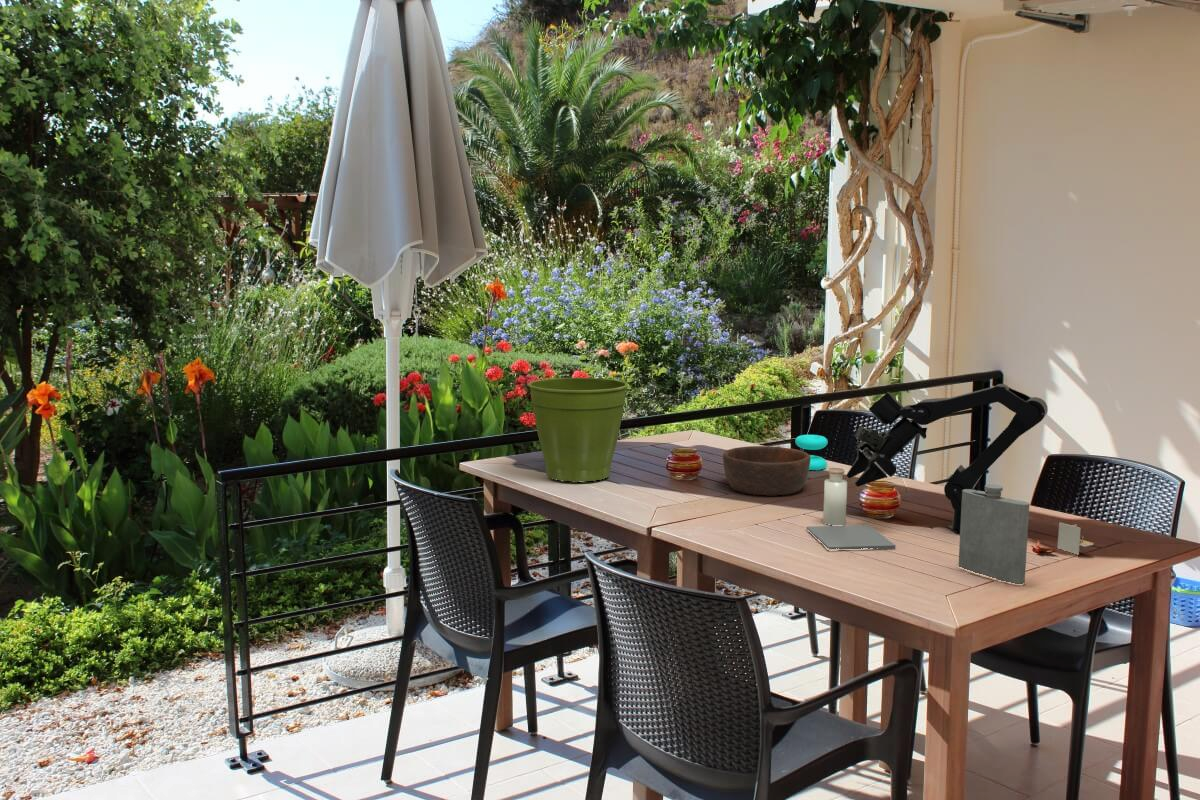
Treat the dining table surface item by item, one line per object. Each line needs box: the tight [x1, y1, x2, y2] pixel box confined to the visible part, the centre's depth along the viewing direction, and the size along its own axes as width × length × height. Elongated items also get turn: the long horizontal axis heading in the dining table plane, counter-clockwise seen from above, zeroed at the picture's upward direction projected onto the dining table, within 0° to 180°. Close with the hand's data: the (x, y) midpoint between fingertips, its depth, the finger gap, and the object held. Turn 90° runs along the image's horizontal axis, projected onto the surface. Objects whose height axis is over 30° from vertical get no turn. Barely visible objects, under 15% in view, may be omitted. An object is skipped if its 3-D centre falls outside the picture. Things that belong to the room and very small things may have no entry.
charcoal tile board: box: [806, 524, 897, 550], centre depth 260 cm, size 18×16×1 cm
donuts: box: [794, 434, 829, 471], centre depth 340 cm, size 10×10×10 cm
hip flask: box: [958, 484, 1030, 584], centre depth 231 cm, size 16×4×20 cm, turn 34°
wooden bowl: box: [722, 445, 811, 497], centre depth 312 cm, size 25×25×10 cm
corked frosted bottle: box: [822, 467, 848, 526], centre depth 274 cm, size 6×6×14 cm
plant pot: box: [528, 377, 629, 483], centre depth 325 cm, size 30×30×29 cm
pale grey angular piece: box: [1056, 521, 1094, 556], centre depth 249 cm, size 3×7×7 cm, turn 30°
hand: (851, 481), depth 274 cm, fingers open, 9 cm apart
